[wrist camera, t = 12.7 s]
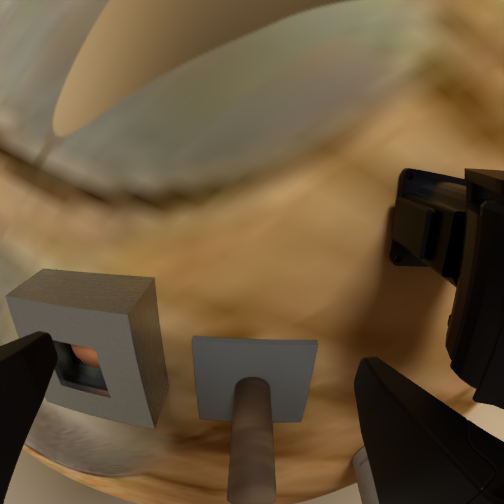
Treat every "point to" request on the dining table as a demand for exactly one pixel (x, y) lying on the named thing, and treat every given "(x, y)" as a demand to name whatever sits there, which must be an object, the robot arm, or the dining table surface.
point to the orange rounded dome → (86, 355)
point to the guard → (98, 341)
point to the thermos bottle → (364, 477)
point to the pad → (252, 374)
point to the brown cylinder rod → (252, 445)
